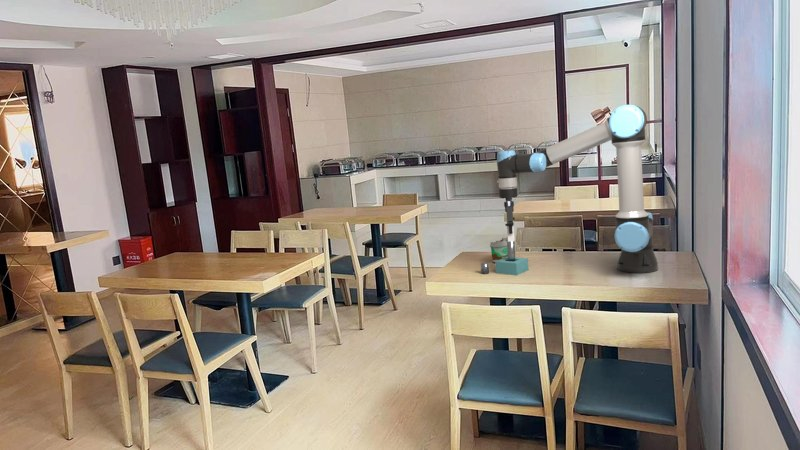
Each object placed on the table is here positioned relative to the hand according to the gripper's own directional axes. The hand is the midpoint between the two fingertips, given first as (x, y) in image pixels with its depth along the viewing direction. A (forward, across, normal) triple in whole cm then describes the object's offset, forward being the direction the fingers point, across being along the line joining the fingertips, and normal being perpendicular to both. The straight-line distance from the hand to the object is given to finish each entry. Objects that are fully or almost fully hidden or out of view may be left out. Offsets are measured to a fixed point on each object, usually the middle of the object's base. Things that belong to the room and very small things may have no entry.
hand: (511, 238), depth 234 cm
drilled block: (+14, 0, 0) cm, 14 cm away
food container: (+14, -20, -4) cm, 25 cm away
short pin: (+14, +1, -12) cm, 19 cm away
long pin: (+14, 0, 0) cm, 14 cm away
